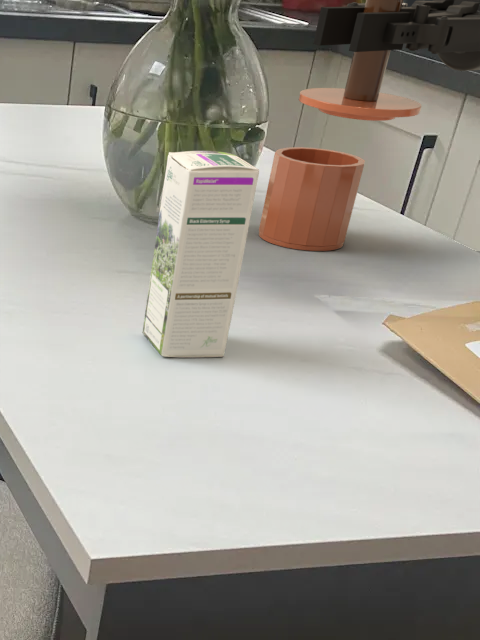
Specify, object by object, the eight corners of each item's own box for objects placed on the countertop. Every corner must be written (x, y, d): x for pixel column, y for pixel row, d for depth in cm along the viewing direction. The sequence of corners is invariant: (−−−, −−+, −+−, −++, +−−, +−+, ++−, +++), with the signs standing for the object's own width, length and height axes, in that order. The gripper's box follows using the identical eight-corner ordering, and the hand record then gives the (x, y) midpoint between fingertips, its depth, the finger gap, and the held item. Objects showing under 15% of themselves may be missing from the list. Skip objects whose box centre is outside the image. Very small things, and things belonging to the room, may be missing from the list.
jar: (249, 225, 123) (265, 145, 118) (328, 229, 124) (348, 149, 119) (271, 249, 116) (289, 164, 111) (355, 252, 116) (377, 168, 111)
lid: (282, 99, 100) (310, -31, 94) (392, 105, 101) (427, -24, 94) (316, 121, 91) (349, -21, 85) (436, 128, 92) (477, -12, 86)
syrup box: (226, 358, 88) (265, 167, 79) (158, 358, 87) (190, 165, 78) (203, 333, 93) (238, 150, 84) (138, 333, 92) (166, 148, 83)
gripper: (555, 83, 99) (407, 96, 87) (406, 56, 108) (254, 65, 96) (588, -14, 94) (437, -13, 82) (429, -33, 104) (273, -35, 92)
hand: (339, 29), depth 89 cm, fingers closed on lid, 3 cm apart
